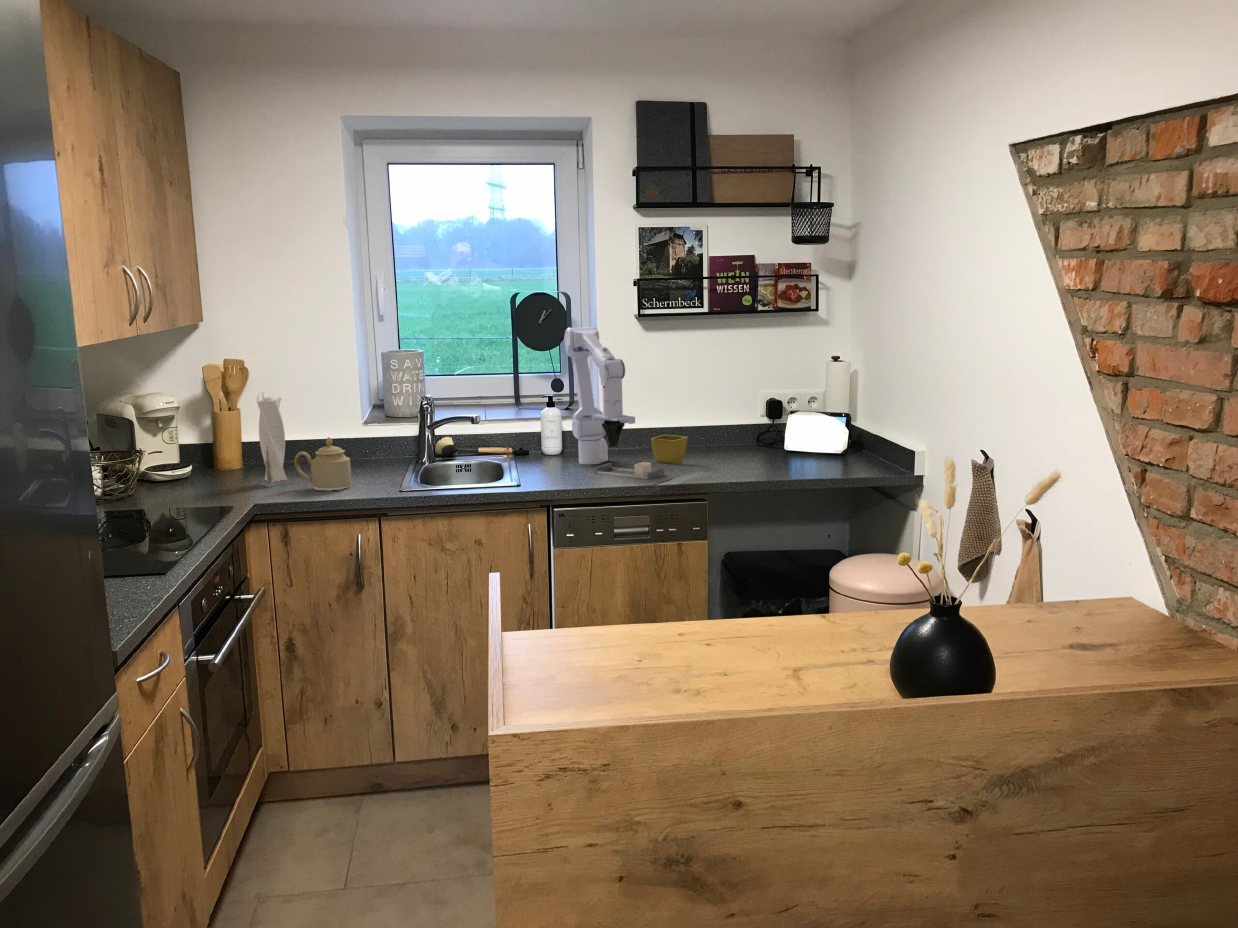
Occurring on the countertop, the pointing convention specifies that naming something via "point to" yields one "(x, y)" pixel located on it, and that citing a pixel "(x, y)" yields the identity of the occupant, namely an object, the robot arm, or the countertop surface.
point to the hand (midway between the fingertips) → (613, 446)
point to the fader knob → (642, 468)
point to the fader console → (608, 466)
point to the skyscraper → (272, 438)
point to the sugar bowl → (327, 467)
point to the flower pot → (669, 448)
